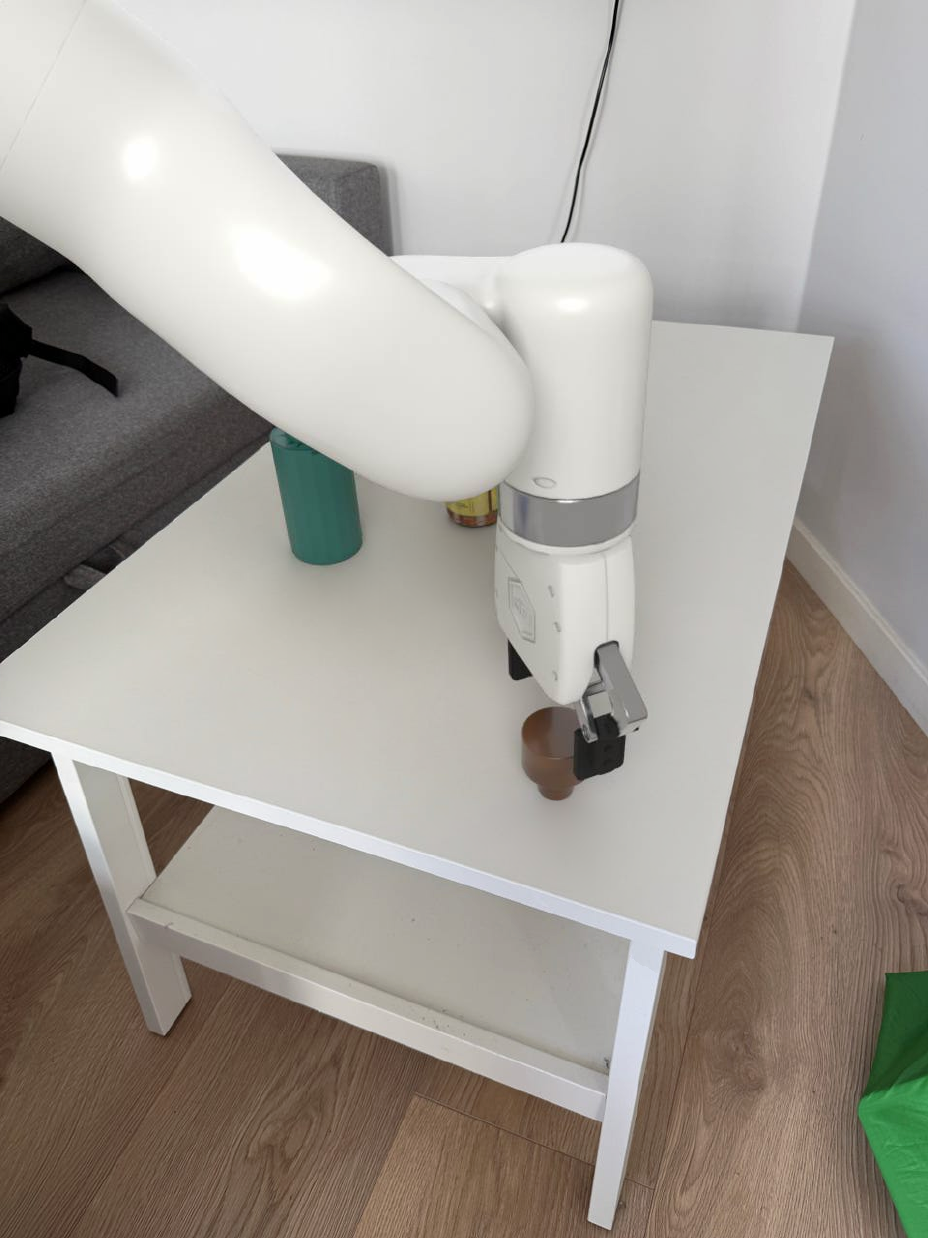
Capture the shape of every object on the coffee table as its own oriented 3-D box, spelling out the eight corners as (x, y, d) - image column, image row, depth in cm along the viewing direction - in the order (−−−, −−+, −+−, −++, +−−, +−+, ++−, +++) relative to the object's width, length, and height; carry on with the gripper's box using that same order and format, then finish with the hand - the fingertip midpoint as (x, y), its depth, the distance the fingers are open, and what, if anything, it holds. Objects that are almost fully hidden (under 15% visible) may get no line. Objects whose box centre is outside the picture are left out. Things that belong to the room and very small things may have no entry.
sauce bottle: (489, 491, 95) (484, 300, 82) (518, 519, 90) (517, 322, 78) (432, 508, 93) (417, 315, 80) (459, 538, 88) (448, 338, 76)
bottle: (300, 572, 85) (270, 414, 75) (284, 535, 90) (254, 382, 80) (370, 554, 87) (350, 397, 77) (351, 519, 92) (329, 367, 82)
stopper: (539, 823, 61) (540, 767, 58) (510, 773, 65) (509, 718, 61) (602, 800, 63) (607, 745, 59) (571, 753, 66) (573, 698, 63)
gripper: (445, 439, 54) (461, 655, 65) (578, 602, 42) (570, 837, 52) (559, 412, 56) (556, 626, 67) (719, 560, 43) (684, 795, 54)
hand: (562, 718), depth 60 cm, fingers open, 9 cm apart
